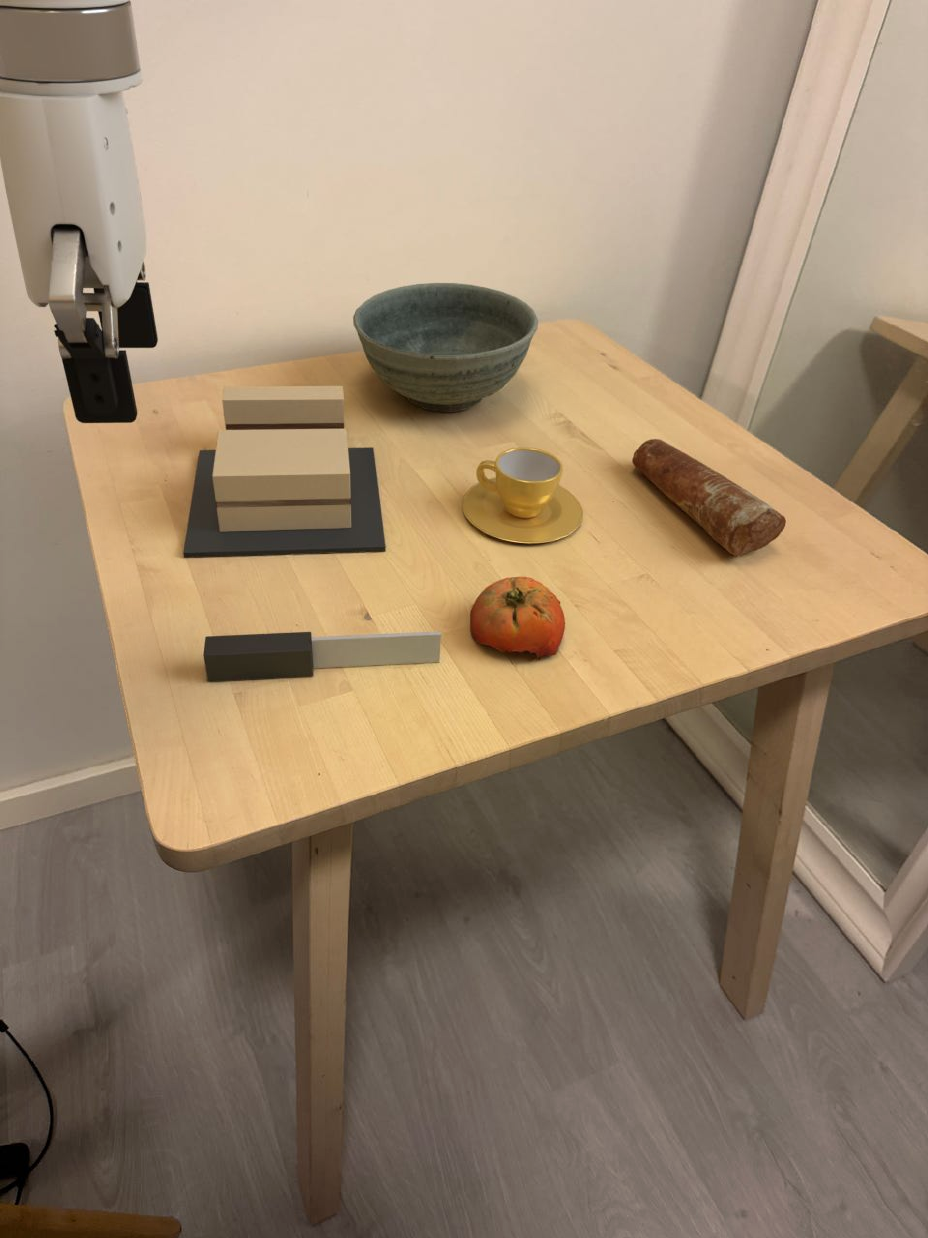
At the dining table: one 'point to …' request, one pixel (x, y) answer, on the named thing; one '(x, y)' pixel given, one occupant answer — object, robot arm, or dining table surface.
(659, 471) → the salami
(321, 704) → the dining table surface
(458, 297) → the bowl
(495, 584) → the tomato
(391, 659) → the knife
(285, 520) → the cake
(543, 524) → the cup
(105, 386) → the robot arm
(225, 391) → the slice
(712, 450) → the dining table surface
